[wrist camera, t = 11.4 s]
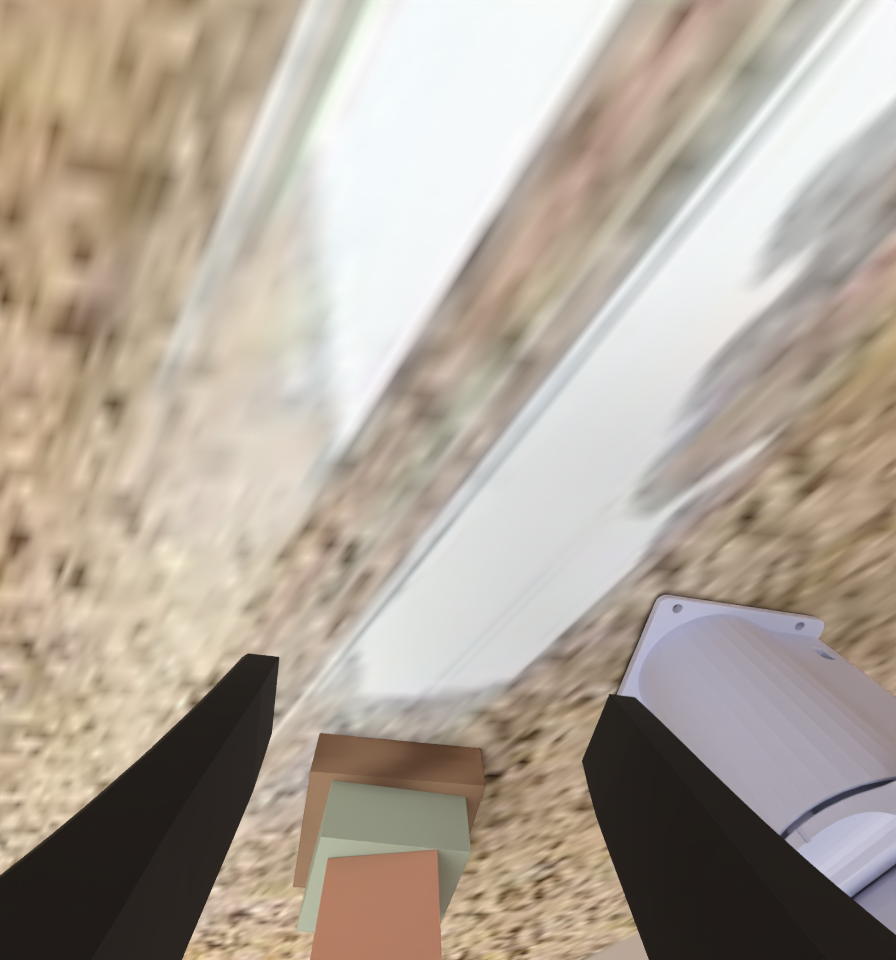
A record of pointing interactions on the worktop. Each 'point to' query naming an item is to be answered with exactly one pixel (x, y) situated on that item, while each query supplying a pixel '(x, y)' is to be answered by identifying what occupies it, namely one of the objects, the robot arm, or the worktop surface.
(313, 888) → the sage block
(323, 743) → the walnut block
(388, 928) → the terracotta block
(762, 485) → the worktop surface
